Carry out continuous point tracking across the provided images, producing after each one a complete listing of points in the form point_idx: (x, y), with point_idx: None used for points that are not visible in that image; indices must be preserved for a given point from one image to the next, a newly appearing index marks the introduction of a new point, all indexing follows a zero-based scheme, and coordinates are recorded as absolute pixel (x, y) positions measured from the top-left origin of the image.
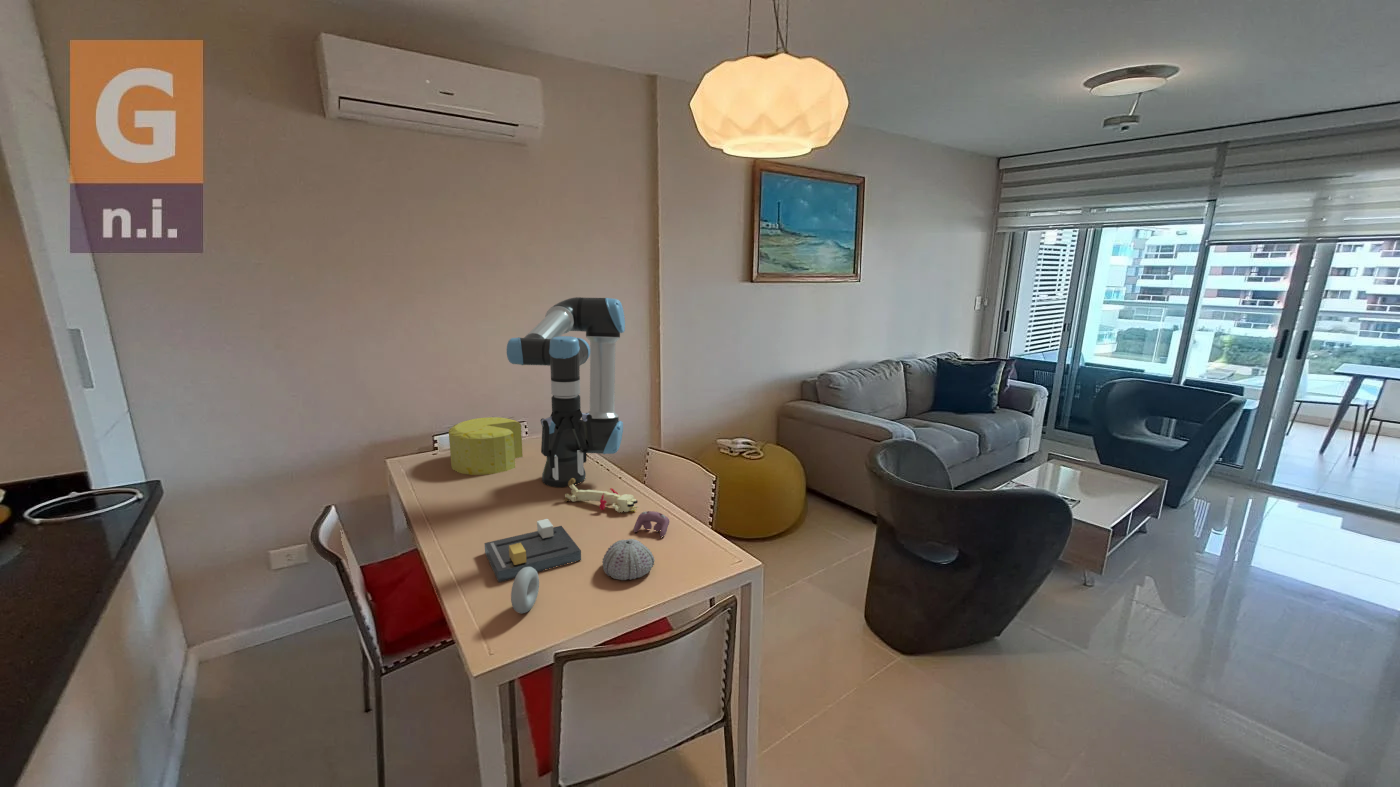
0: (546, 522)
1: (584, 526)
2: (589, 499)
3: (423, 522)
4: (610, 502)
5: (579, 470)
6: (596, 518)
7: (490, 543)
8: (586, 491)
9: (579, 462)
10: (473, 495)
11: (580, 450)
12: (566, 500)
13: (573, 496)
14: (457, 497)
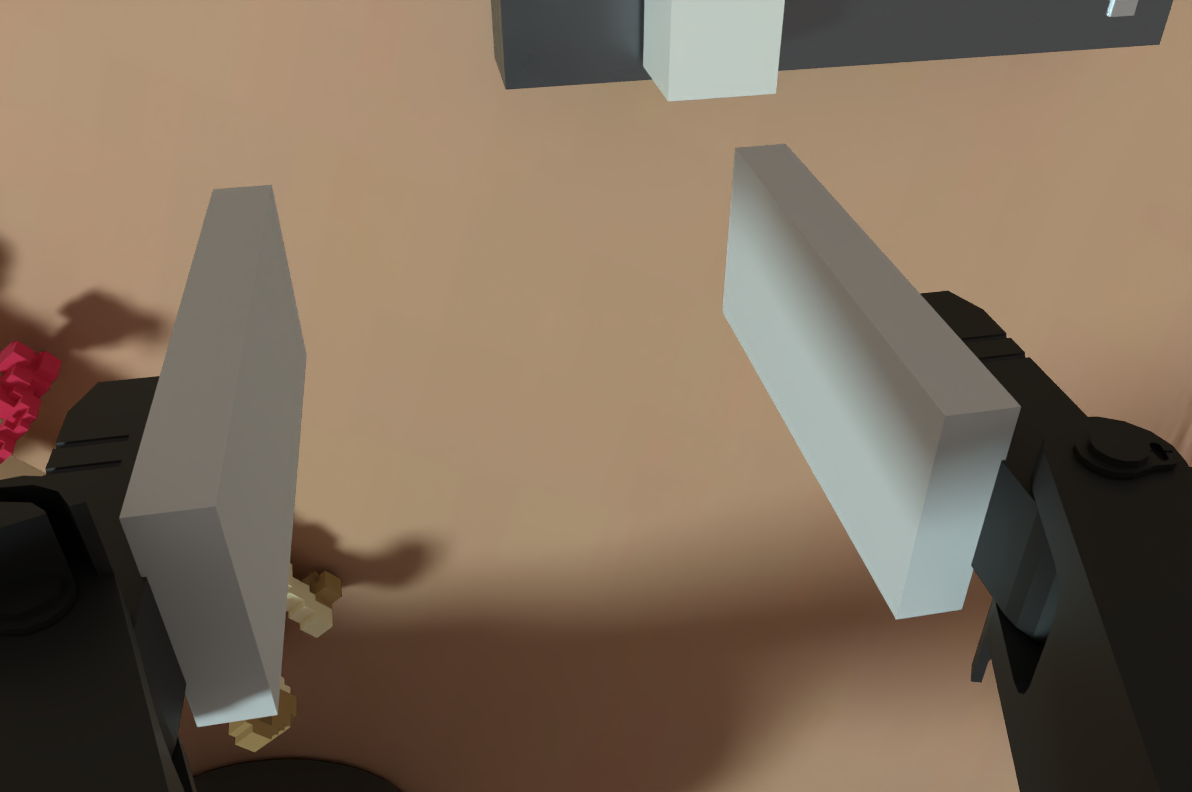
0: (707, 18)
1: (258, 139)
2: None
3: None
4: None
5: (284, 304)
6: (118, 246)
7: (1136, 8)
8: None
9: (268, 400)
10: (832, 755)
11: (183, 691)
12: (327, 578)
13: None
14: (909, 749)
